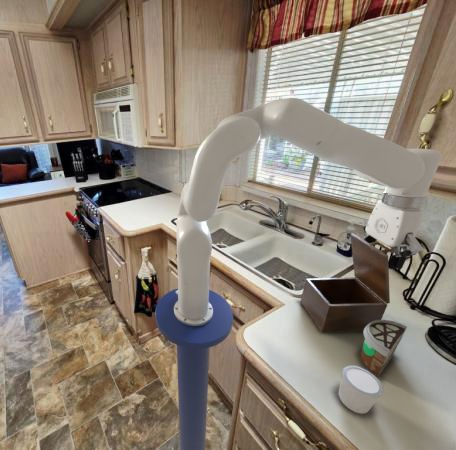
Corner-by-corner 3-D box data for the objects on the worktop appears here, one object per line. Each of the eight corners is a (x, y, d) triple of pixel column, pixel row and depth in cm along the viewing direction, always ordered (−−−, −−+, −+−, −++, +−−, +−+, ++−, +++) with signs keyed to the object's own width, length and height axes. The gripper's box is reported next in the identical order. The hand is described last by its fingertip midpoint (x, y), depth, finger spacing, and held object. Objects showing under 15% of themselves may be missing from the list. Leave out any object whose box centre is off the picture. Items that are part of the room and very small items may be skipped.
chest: (321, 331, 73) (329, 306, 69) (300, 302, 84) (305, 278, 80) (376, 330, 72) (387, 304, 68) (347, 300, 84) (355, 277, 80)
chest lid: (384, 256, 62) (411, 248, 61) (350, 233, 73) (372, 227, 72) (386, 303, 68) (410, 297, 67) (354, 276, 79) (374, 270, 78)
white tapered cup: (329, 383, 59) (336, 364, 56) (360, 385, 59) (368, 365, 56) (346, 415, 53) (354, 395, 50) (381, 418, 52) (392, 397, 49)
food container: (366, 337, 70) (377, 311, 66) (394, 353, 65) (408, 325, 61) (346, 361, 64) (356, 333, 60) (375, 380, 60) (389, 351, 55)
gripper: (361, 191, 70) (345, 244, 77) (418, 213, 55) (392, 277, 62) (388, 189, 70) (370, 243, 77) (454, 212, 54) (423, 276, 61)
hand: (380, 258), depth 69 cm, fingers open, 9 cm apart
